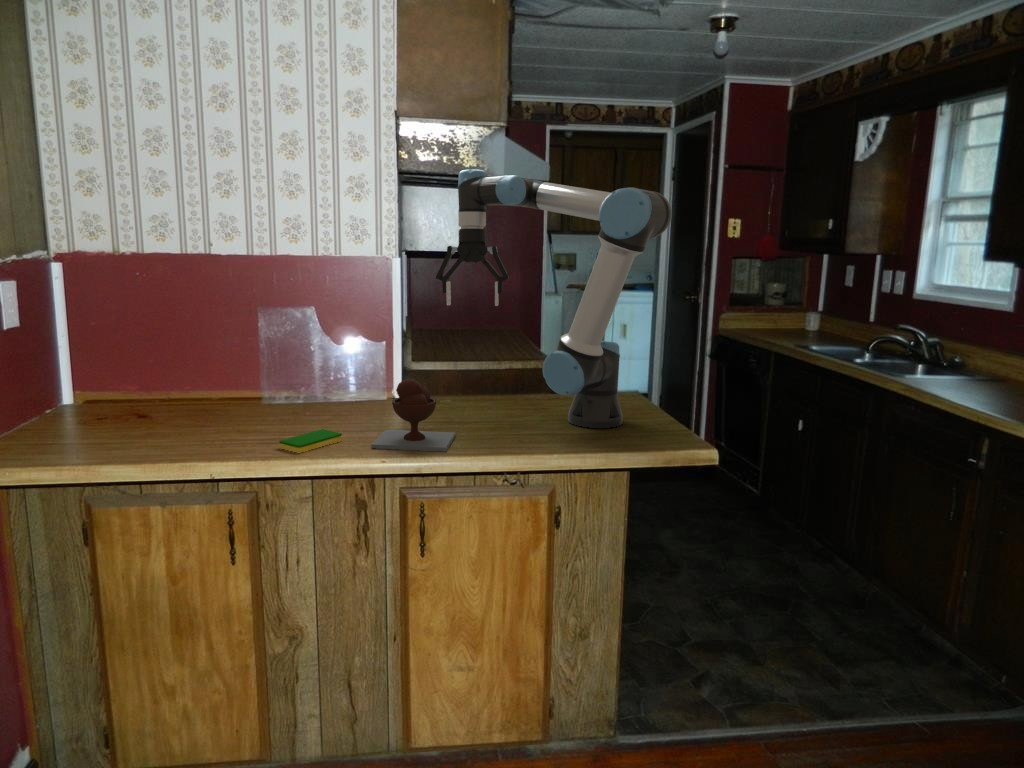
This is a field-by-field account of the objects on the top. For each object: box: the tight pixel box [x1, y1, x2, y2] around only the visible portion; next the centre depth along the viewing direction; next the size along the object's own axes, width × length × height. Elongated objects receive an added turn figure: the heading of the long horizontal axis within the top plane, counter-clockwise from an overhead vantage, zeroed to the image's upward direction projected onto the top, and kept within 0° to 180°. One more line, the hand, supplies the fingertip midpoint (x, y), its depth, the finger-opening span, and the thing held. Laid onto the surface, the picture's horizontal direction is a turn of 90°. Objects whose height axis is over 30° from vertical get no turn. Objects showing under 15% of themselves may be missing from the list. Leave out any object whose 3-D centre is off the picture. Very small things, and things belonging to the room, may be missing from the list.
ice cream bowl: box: [391, 378, 437, 441], centre depth 182 cm, size 11×11×15 cm
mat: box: [370, 429, 456, 453], centre depth 184 cm, size 18×14×1 cm
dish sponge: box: [278, 428, 343, 454], centre depth 180 cm, size 7×14×2 cm, turn 147°
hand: (472, 305), depth 209 cm, fingers open, 13 cm apart
